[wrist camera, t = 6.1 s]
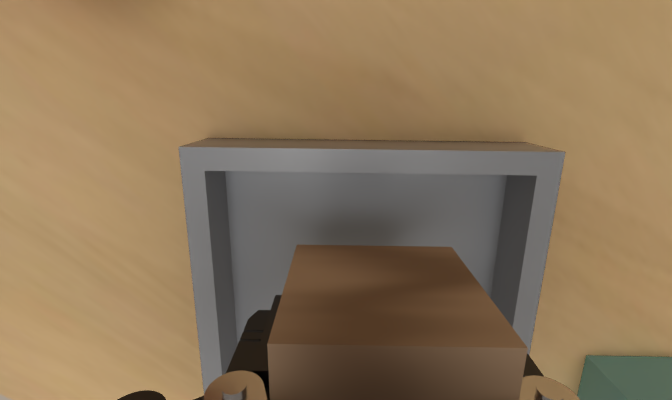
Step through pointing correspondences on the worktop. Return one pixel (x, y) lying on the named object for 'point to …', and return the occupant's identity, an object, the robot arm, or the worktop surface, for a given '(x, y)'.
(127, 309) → the worktop surface
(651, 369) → the teal block
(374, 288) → the walnut block
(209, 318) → the tray
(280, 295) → the robot arm
